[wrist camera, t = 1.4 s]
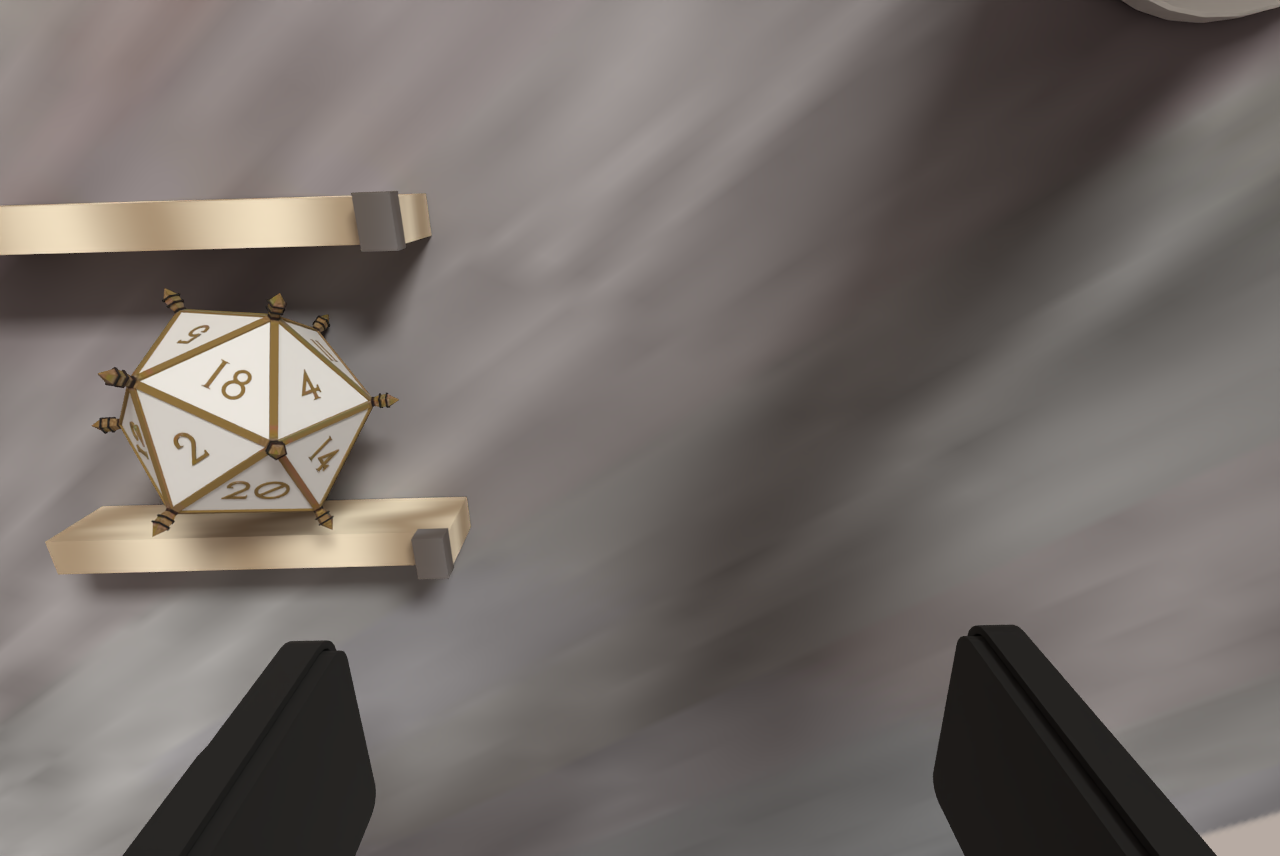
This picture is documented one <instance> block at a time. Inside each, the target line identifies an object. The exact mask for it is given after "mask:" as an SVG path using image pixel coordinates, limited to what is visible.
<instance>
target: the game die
mask: <svg viewBox="0 0 1280 856" xmlns="http://www.w3.org/2000/svg"><path fill="white" fill-rule="evenodd" d="M162 302H165V303H166V304H167V305H168V306H166V307H167V308H170V309H172V310H173V311H174V312H175V315H174V316H173V317H172V319H171V320H170V322H169V323H168V324H167V326H166V327H165V329H164V330H163V331H162V333H161V334H160V336H159V337H158V339H157V340H156V341H155V343H154V344H153V346H152V347H151V348H150V350H149V351H148V353H147V354H146V355H145V357H144V358H143V360H142V361H141V363H140V364H139V365H138V367H137V368H136V370H135V371H134V372H133V374H132V375H131V376H130V375H128V374H127V373H126V371H125V370H122V371H120V370H118V369H117V368H116V367H114V368H113V369H111V370H108V371H105V372H101V373H98V375H99V376H100V377H101V378H102V379H103V380H104V381H105V385H109V386H114V387H121V388H124V387H125V386H126V392H125V396H124V401H123V406H122V410H121V415H120V419H116V417H109V418H108V417H107V418H100V420H99V421H97V422H96V423H95V424H93V425H92V426H93V427H95V428H97V429H99V430H102V431H103V432H104V433H105V434H106V433H107V432H109V431H112V432H115V431H116V430H118V429H122V431H123V433H124V434H125V436H126V438H127V440H128V441H129V443H130V445H131V447H132V448H133V450H134V452H135V454H136V455H137V457H138V459H139V461H140V462H141V464H142V466H143V468H144V469H145V471H146V473H147V475H148V476H149V478H150V480H151V482H152V483H153V485H154V487H155V489H156V490H157V492H158V494H159V496H160V497H161V499H162V501H163V503H164V504H165V506H166V510H165V511H164V512H163V513H161V514H157V516H158V517H157V518H156V519H155V520H152V521H151V522H152V523H153V534H152V537H153V536H156V535H158V534H160V533H162V532H164V531H166V530H167V531H169V529H170V525H171V524H173V523H174V522H175V521H174V519H175V516H176V515H178V514H215V513H262V512H309V511H313V512H314V513H315V516H316V519H315V520H318V522H319V526H320V525H321V526H324V527H326V528H329V529H331V530H333V517H334V516H331V515H330V513H329V512H330V511H327V510H326V509H324V508H323V504H324V502H325V500H326V498H327V496H328V494H329V492H330V490H331V488H332V486H333V484H334V483H335V481H336V479H337V477H338V475H339V473H340V471H341V469H342V467H343V465H344V463H345V461H346V459H347V457H348V455H349V453H350V451H351V449H352V447H353V445H354V443H355V441H356V439H357V437H358V436H359V434H360V432H361V430H362V428H363V426H364V424H365V422H366V420H367V418H368V416H369V414H370V412H371V410H372V408H373V406H378V407H380V408H383V407H385V406H386V407H387V408H389V407H390V406H391V405H392V404H394V403H395V402H397V401H398V399H396V398H394V397H392V396H390V395H388V393H386V394H384V395H381V394H379V395H378V396H376V397H371V396H370V394H369V393H368V392H367V391H366V389H365V388H364V387H363V386H362V384H361V383H360V382H359V381H358V379H357V378H356V377H355V376H354V374H353V373H352V372H351V371H350V369H349V368H348V367H347V366H346V364H345V363H344V362H343V361H342V359H341V358H340V357H339V356H338V354H337V353H336V352H335V351H334V349H333V348H332V347H331V346H330V344H329V343H328V342H327V341H326V339H325V338H324V337H323V336H322V334H321V332H322V331H326V330H327V329H326V328H327V327H330V324H329V315H323V316H318V317H317V318H316V320H315V321H314V323H313V327H310V326H307V325H304V324H301V323H298V322H295V321H292V320H289V319H286V318H283V317H280V315H283V313H284V311H285V307H286V305H287V303H286V302H284V300H283V298H282V296H281V294H280V293H279V294H278V295H276V296H275V297H273V298H272V299H268V300H267V302H268V306H266V309H267V310H268V314H264V313H246V312H229V311H211V310H193V309H186V308H185V307H184V305H183V302H184V300H181V298H180V294H179V293H178V294H176V293H174V292H172V291H170V290H168V289H165V288H164V299H163V300H162Z"/></svg>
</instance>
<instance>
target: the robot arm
mask: <svg viewBox="0 0 1280 856" xmlns="http://www.w3.org/2000/svg"><path fill="white" fill-rule="evenodd" d="M1122 1H1123V2H1125V3H1126V4H1128V5H1129V6H1131V7H1133V8H1134V9H1136V10H1138V11H1141V12H1144V13H1147V14H1150V15H1153V16H1156V17H1159V18H1162V19H1165V20H1171V21H1183V22H1196V23H1206V22H1213V21H1221V20H1228V19H1236V18H1241V17H1244V16H1248V15H1251V14H1255V13H1258V12H1262V11H1265V10H1269V9H1273V8H1277V7H1280V0H1122ZM933 783H934V789H935V793H936V797H937V799H938V802H939V804H940V806H941V808H942V810H943V812H944V814H945V816H946V818H947V820H948V822H949V824H950V827H951V829H952V831H953V833H954V835H955V837H956V839H957V841H958V843H959V845H960V847H961V849H962V851H963V853H964V855H965V856H1217V855H1216V854H1215V853H1214V852H1213V851H1212V849H1211V848H1210V847H1209V846H1208V845H1207V844H1206V842H1204V840H1203V839H1202V838H1201V837H1200V835H1199V834H1198V833H1197V832H1196V831H1195V830H1194V828H1193V827H1192V826H1191V825H1190V824H1189V823H1188V822H1187V820H1186V819H1185V818H1184V817H1183V816H1182V815H1181V813H1180V812H1179V811H1178V810H1177V809H1176V808H1175V806H1174V805H1173V804H1172V803H1171V802H1170V801H1169V799H1168V798H1167V797H1166V796H1165V795H1164V794H1163V793H1162V791H1161V790H1160V789H1159V788H1158V787H1157V786H1156V784H1155V783H1154V782H1153V781H1152V780H1151V779H1150V777H1149V776H1148V775H1147V774H1146V773H1145V772H1144V770H1143V769H1142V768H1141V767H1140V766H1139V765H1138V763H1137V762H1136V761H1135V760H1134V759H1133V758H1132V757H1131V755H1130V754H1129V753H1128V752H1127V751H1126V750H1125V748H1124V747H1123V746H1122V745H1121V744H1120V743H1119V741H1118V740H1117V739H1116V738H1115V737H1114V736H1113V734H1112V733H1111V732H1110V731H1109V730H1108V729H1107V727H1106V726H1105V725H1104V724H1103V723H1102V722H1101V721H1100V719H1099V718H1098V717H1097V716H1096V715H1095V714H1094V712H1093V711H1092V710H1091V709H1090V708H1089V707H1088V705H1087V704H1086V703H1085V702H1084V701H1083V700H1082V698H1081V697H1080V696H1079V695H1078V694H1077V693H1076V692H1075V690H1074V689H1073V688H1072V687H1071V686H1070V685H1069V683H1068V682H1067V681H1066V680H1065V679H1064V678H1063V676H1062V675H1061V674H1060V673H1059V672H1058V671H1057V669H1056V668H1055V667H1054V666H1053V665H1052V664H1051V662H1050V661H1049V660H1048V659H1047V658H1046V657H1045V656H1044V654H1043V653H1042V652H1041V651H1040V650H1039V649H1038V647H1037V646H1036V645H1035V644H1034V643H1033V642H1032V640H1031V639H1030V638H1029V637H1028V636H1027V635H1026V633H1025V632H1024V631H1023V630H1022V629H1020V628H1019V627H1018V626H1015V625H980V626H973V627H972V628H971V629H970V630H969V633H968V636H963V637H960V638H959V640H958V642H957V646H956V651H955V657H954V662H953V668H952V673H951V679H950V684H949V690H948V695H947V701H946V706H945V711H944V717H943V722H942V728H941V733H940V739H939V744H938V750H937V755H936V761H935V766H934V772H933ZM375 797H376V789H375V782H374V778H373V773H372V769H371V764H370V759H369V755H368V750H367V746H366V741H365V737H364V732H363V727H362V723H361V718H360V714H359V709H358V705H357V700H356V695H355V691H354V686H353V682H352V677H351V672H350V668H349V663H348V659H347V656H346V654H345V652H344V651H336V649H335V646H334V644H333V643H332V642H331V641H290V642H288V643H285V644H284V645H283V646H282V647H281V648H280V650H279V651H278V652H277V654H276V655H275V657H274V658H273V659H272V661H271V662H270V663H269V665H268V666H267V667H266V669H265V670H264V671H263V673H262V674H261V675H260V677H259V678H258V679H257V681H256V682H255V683H254V685H253V686H252V687H251V689H250V690H249V691H248V693H247V694H246V695H245V697H244V698H243V699H242V701H241V702H240V703H239V705H238V706H237V707H236V709H235V710H234V711H233V713H232V714H231V715H230V717H229V718H228V719H227V721H226V722H225V723H224V725H223V726H222V727H221V729H220V730H219V731H218V733H217V734H216V735H215V737H214V738H213V739H212V741H211V742H210V743H209V745H208V746H207V747H206V748H205V749H204V750H203V751H202V752H201V753H200V754H199V755H198V756H197V757H196V759H195V760H194V761H193V763H192V764H191V765H190V767H189V768H188V769H187V771H186V772H185V773H184V775H183V776H182V777H181V779H180V780H179V781H178V783H177V784H176V785H175V787H174V788H173V789H172V791H171V792H170V793H169V795H168V796H167V797H166V799H165V800H164V801H163V803H162V804H161V805H160V807H159V808H158V809H157V811H156V812H155V813H154V815H153V816H152V817H151V819H150V820H149V821H148V823H147V824H146V825H145V827H144V828H143V829H142V830H141V832H140V833H139V834H138V836H137V837H136V838H135V840H134V841H133V842H132V844H131V845H130V846H129V848H128V849H127V850H126V852H125V853H124V854H123V856H355V855H356V852H357V850H358V847H359V845H360V842H361V840H362V838H363V835H364V833H365V830H366V828H367V825H368V823H369V820H370V818H371V815H372V812H373V809H374V804H375Z"/></svg>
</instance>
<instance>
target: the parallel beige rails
mask: <svg viewBox="0 0 1280 856" xmlns="http://www.w3.org/2000/svg"><path fill="white" fill-rule="evenodd" d="M351 195H352V196H322V197H287V198H252V199H217V200H183V201H148V202H113V203H78V204H43V205H8V206H0V255H16V254H51V253H86V252H122V251H157V250H192V249H228V248H263V247H298V246H334V245H360V247H361V252H369V251H399V250H402V249H405V248H406V243H409V242H412V241H415V240H419V239H422V238H425V237H429V236H431V228H430V221H429V213H428V206H427V199H426V194H398V191H386V192H357V193H351ZM323 508H324V509H326V510H327V511H330V512H329V513H330V515H331V516H334V517H333V530H331V529H329V528H326V527H324V526H321V525H320V526H319V522H318V520H315V519H316V516H315V513H314V512H313V511H309V512H262V513H215V514H178V515H176V516H175V519H174V521H175V522H174V523H173V524H171V525H170V529H169V531H167V530H166V531H164V532H162V533H160V534H158V535H156V536H153V537H152V534H153V523H152V522H151V521H152V520H155V519H156V518H157V517H158V516H157V514H161V513H163V512H164V511H165V510H166V506H165V505H135V506H102V507H101V508H99V509H97V510H96V511H94V512H93V513H91V514H89V515H88V516H86V517H85V518H83V519H81V520H80V521H78V522H76V523H75V524H73V525H72V526H70V527H68V528H67V529H65V530H64V531H62V532H60V533H59V534H57V535H56V536H54V537H52V538H51V539H49V540H48V541H46V542H45V543H46V545H47V548H48V550H49V553H50V555H51V558H52V560H53V563H54V565H55V568H56V570H57V573H58V574H88V573H127V572H166V571H205V570H244V569H283V568H322V567H360V566H399V565H416V570H417V576H418V579H449V577H450V575H451V572H452V570H453V568H454V565H453V564H454V562H455V560H456V558H457V555H458V553H459V551H460V549H461V547H462V545H463V543H464V541H465V538H466V536H467V534H468V532H469V530H470V528H471V524H470V517H469V509H468V502H467V497H440V498H402V499H364V500H326V501H325V502H324V504H323Z"/></svg>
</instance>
